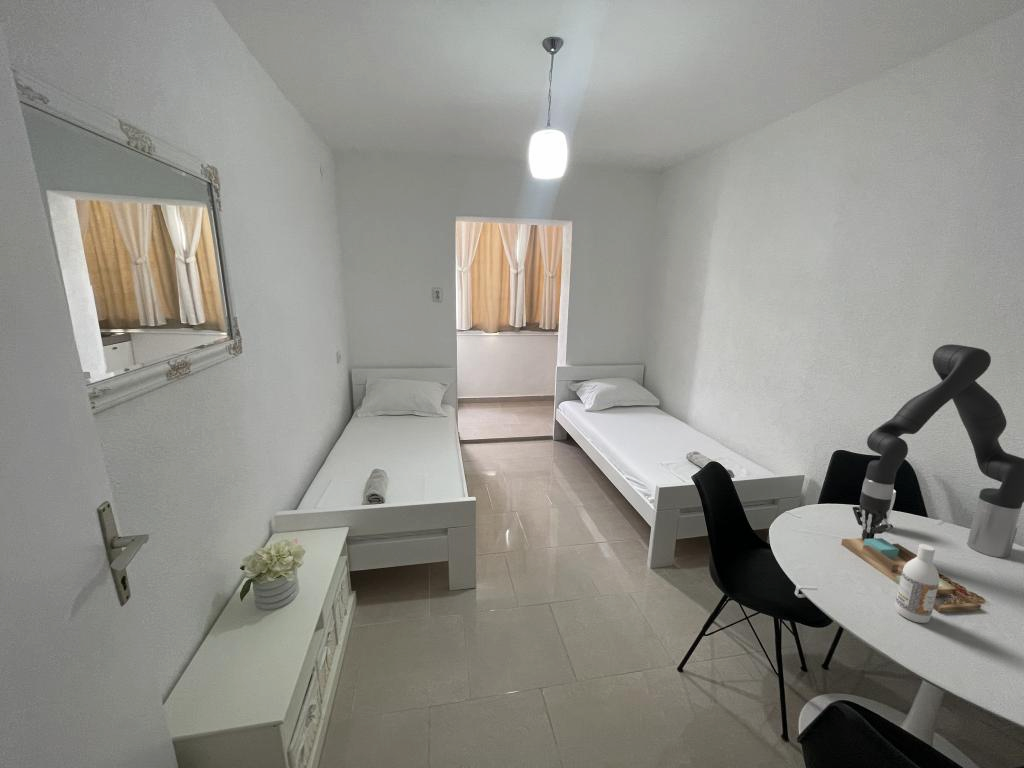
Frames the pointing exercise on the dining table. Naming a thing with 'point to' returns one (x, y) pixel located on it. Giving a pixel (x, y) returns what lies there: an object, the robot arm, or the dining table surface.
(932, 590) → the bath foam
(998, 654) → the dining table surface
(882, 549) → the block
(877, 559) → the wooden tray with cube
